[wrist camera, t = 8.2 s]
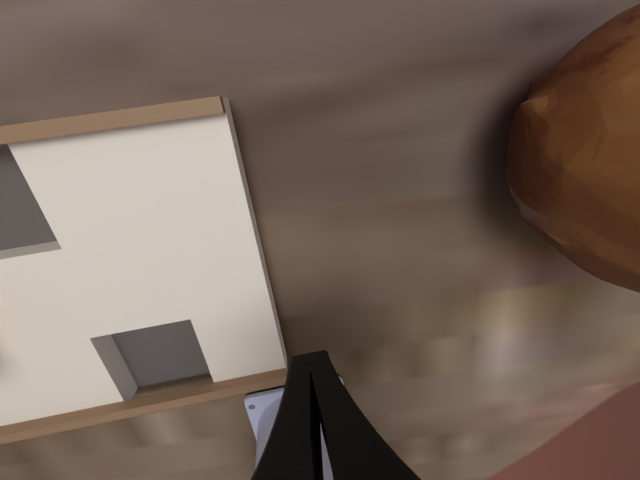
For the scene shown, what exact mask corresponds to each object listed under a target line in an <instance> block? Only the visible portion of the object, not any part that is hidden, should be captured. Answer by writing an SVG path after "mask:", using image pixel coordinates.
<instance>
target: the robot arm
mask: <svg viewBox="0 0 640 480" xmlns="http://www.w3.org/2000/svg"><path fill="white" fill-rule="evenodd" d="M244 404H245V407H246V410H247V413H248V416H249V420H250V423H251V426H252V429H253V432H254V435H255V438H256V441H257V447H256V466H255V472H254V474H253V476H252V478H251V480H421V479H420V478H419V477H418V476H417V475H416V474H415V473H414V472H413V471H412V470H411V469H410V468H409V467H408V466H407V465H406V464H405V463H404V462H403V461H402V460H401V459H400V458H399V457H398V456H397V455H396V453H395V452H394V451H393V450H392V449H391V448H390V447H389V446H388V444H387V443H386V442H385V441H384V440H383V439H382V437H381V436H380V435H379V434H378V433H377V431H376V430H375V429H374V428H373V426H372V425H371V424H370V423H369V421H368V420H367V419H366V417H365V416H364V415H363V413H362V412H361V410H360V409H359V408H358V406H357V405H356V403H355V402H354V401H353V399H352V398H351V396H350V394H349V393H348V391H347V390H346V388H345V387H344V383H343V379H342V378H341V377H339V376H338V375H337V373H336V371H335V369H334V367H333V365H332V363H331V360H330V358H329V355H328V352H327V351H325V350H322V351H317V352H313V353H308V354H303V355H298V356H293V357H291V358H290V359H289V367H288V373H287V378H286V383H285V387H283V388H278V389H273V390H269V391H264V392H259V393H254V394H250V395H247V396H246V397H245V399H244Z"/></svg>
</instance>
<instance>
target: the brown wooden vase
mask: <svg viewBox="0 0 640 480" xmlns="http://www.w3.org/2000/svg"><path fill="white" fill-rule="evenodd" d="M506 170H507V178H508V183H509V190H510V194H511V197H512V198H513V200H514V202H515V203H516V205H517V207H518V209H519V211H520V214H521V216H522V217H523V218H524V219H525V220H526V221H527V222H528V223H529V224H530V225H531V226H532V227H533V228H534V229H535V230H536V231H537V232H538V233H539V234H540V235H541V236H542V237H544V238H545V239H546V240H547V241H548V242H549V243H550V244H551V245H553V246H554V247H555V248H556V249H557V250H559V251H560V252H561V253H562V254H563V255H565V256H566V257H567V258H568V259H570V260H571V261H572V262H573V263H575V264H576V265H577V266H579V267H580V268H582V269H584V270H585V271H587V272H588V273H590V274H592V275H593V276H595V277H597V278H599V279H602V280H604V281H607V282H609V283H612V284H615V285H617V286H620V287H624V288H627V289H630V290H633V291H636V292H639V293H640V4H639V5H636V6H634V7H632V8H630V9H628V10H626V11H624V12H622V13H620V14H618V15H617V16H615V17H614V18H612V19H611V20H609V21H608V22H606V23H605V24H603V25H602V26H600V27H599V28H597V29H596V30H594V31H593V32H592V33H590V34H589V35H588V36H587V37H585V38H584V39H583V40H582V41H580V42H579V43H578V44H577V45H576V46H575V47H574V48H573V49H572V50H571V51H570V52H569V53H568V54H567V55H566V56H564V57H563V58H562V59H561V60H560V61H559V62H558V63H557V64H556V65H554V66H553V67H552V68H550V69H549V70H547V71H546V72H544V73H543V74H541V75H540V76H538V77H537V78H536V79H535V80H534V81H533V82H532V83H531V84H530V88H529V92H528V96H527V99H526V101H525V102H524V103H521V104H520V106H519V107H518V108H517V112H516V114H515V117H514V120H513V123H512V126H511V129H510V133H509V137H508V145H507V160H506Z"/></svg>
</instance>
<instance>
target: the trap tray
mask: <svg viewBox="0 0 640 480" xmlns="http://www.w3.org/2000/svg"><path fill="white" fill-rule="evenodd" d="M208 373H210V374H211V376H212V379H213V382H214V383H209V384H204V385H199V386H194V387H190V388H185V389H180V390H175V391H170V392H165V393H160V394H155V395H151V396H146V397H141V398H136V399H133V397H134V395H135V393H136V391H137V389H138V388H139V387H144V386H149V385H153V384H158V383H163V382H168V381H173V380H178V379H183V378H188V377H193V376H198V375H203V374H208ZM286 378H287V354H286V350H285V345H284V341H283V337H282V332H281V328H280V323H279V319H278V315H277V310H276V306H275V302H274V297H273V293H272V288H271V284H270V280H269V275H268V271H267V266H266V262H265V258H264V253H263V249H262V245H261V240H260V236H259V231H258V227H257V223H256V218H255V214H254V210H253V205H252V201H251V196H250V192H249V188H248V183H247V179H246V174H245V170H244V166H243V161H242V157H241V153H240V148H239V144H238V139H237V135H236V131H235V126H234V122H233V118H232V113H231V109H230V104H229V100H228V98H224V97H221V96H217V97H209V98H202V99H195V100H188V101H180V102H173V103H166V104H158V105H151V106H144V107H137V108H129V109H122V110H115V111H107V112H100V113H93V114H85V115H78V116H71V117H64V118H56V119H49V120H42V121H34V122H27V123H20V124H13V125H5V126H0V444H5V443H10V442H15V441H19V440H24V439H29V438H34V437H38V436H43V435H48V434H53V433H58V432H62V431H67V430H72V429H77V428H81V427H86V426H91V425H96V424H101V423H105V422H110V421H115V420H120V419H124V418H129V417H134V416H139V415H144V414H148V413H153V412H158V411H163V410H167V409H172V408H177V407H182V406H187V405H191V404H196V403H201V402H206V401H210V400H215V399H220V398H225V397H230V396H234V395H239V394H244V393H249V392H253V391H258V390H263V389H268V388H273V387H277V386H282V385H285V383H286Z"/></svg>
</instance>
